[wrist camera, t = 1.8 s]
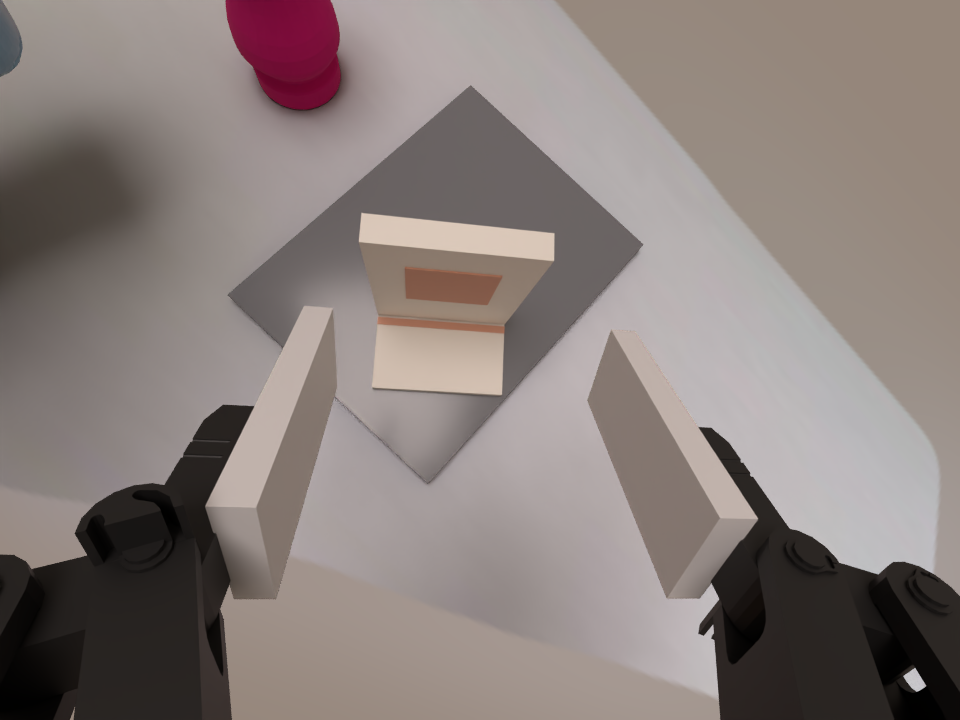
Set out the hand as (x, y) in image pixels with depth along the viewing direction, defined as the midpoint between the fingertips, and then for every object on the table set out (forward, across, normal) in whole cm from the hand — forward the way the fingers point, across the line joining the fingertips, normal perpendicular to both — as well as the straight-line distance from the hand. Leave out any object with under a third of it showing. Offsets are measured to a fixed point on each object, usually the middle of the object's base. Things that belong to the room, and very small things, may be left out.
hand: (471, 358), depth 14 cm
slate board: (+22, 0, -7) cm, 23 cm away
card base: (+17, 0, -11) cm, 20 cm away
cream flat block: (+19, 0, -8) cm, 20 cm away
